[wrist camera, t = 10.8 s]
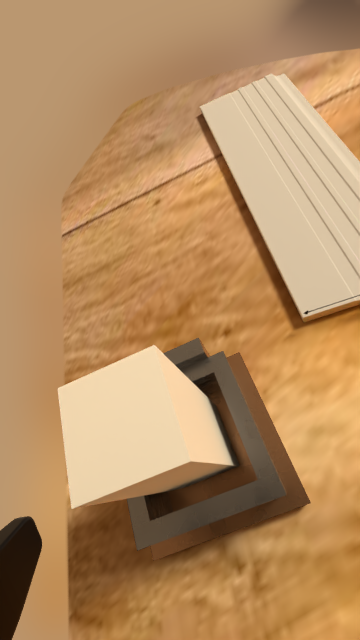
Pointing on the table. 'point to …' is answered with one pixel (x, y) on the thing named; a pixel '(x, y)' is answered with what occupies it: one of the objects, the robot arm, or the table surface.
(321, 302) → the baseboard molding
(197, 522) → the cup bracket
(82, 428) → the cream rectangular block
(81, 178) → the table surface
